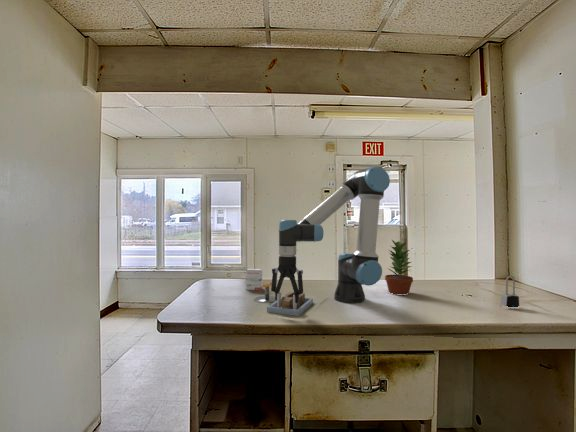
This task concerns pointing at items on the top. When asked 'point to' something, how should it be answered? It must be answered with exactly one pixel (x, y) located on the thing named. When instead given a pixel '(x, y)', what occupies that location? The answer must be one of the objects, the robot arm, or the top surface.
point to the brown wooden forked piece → (288, 300)
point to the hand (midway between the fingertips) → (286, 309)
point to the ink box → (253, 279)
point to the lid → (265, 298)
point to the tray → (275, 309)
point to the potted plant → (399, 271)
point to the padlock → (510, 296)
